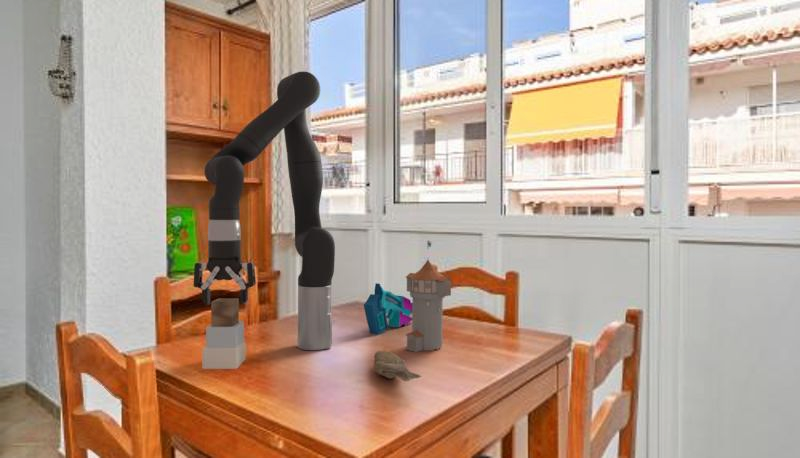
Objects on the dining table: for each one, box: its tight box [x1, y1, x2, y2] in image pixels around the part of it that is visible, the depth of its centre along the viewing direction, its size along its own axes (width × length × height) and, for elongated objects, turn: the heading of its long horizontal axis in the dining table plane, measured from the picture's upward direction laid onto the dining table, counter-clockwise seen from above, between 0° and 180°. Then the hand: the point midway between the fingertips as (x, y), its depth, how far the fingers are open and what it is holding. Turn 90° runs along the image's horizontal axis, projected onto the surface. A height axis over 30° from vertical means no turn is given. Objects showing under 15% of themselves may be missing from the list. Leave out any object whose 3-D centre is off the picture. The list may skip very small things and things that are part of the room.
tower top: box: [205, 320, 245, 348], centre depth 123 cm, size 7×7×5 cm
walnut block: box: [210, 297, 240, 327], centre depth 122 cm, size 5×5×6 cm
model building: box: [405, 240, 453, 353], centre depth 140 cm, size 14×12×30 cm
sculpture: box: [373, 350, 422, 382], centre depth 111 cm, size 6×25×5 cm, turn 21°
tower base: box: [201, 339, 247, 370], centre depth 123 cm, size 8×8×5 cm
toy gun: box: [363, 283, 413, 336], centre depth 162 cm, size 4×26×15 cm, turn 148°
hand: (225, 304), depth 122 cm, fingers open, 8 cm apart
